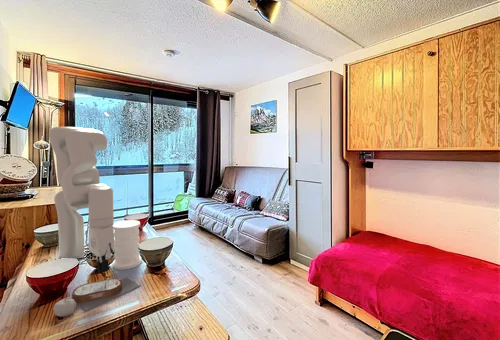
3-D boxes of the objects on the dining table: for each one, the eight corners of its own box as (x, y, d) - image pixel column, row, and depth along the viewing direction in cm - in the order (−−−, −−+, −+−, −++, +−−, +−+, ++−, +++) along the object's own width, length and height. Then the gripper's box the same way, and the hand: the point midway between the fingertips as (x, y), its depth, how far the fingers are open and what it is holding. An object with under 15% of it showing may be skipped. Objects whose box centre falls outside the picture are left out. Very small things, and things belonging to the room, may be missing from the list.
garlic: (81, 308, 78) (80, 292, 77) (69, 320, 72) (68, 303, 72) (62, 308, 77) (61, 292, 77) (48, 320, 72) (47, 303, 72)
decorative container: (142, 256, 116) (141, 219, 115) (141, 267, 105) (140, 226, 104) (114, 259, 112) (113, 221, 110) (110, 271, 101) (109, 229, 100)
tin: (74, 292, 85) (69, 308, 78) (73, 284, 85) (68, 299, 77) (122, 282, 92) (122, 296, 85) (122, 274, 92) (122, 287, 84)
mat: (73, 299, 82) (73, 298, 82) (126, 277, 96) (126, 276, 96) (85, 311, 76) (85, 310, 76) (140, 286, 90) (140, 285, 90)
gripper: (81, 220, 88) (82, 269, 89) (99, 228, 79) (101, 282, 80) (103, 215, 94) (104, 261, 95) (122, 223, 85) (123, 273, 86)
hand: (103, 271), depth 88 cm, fingers closed
